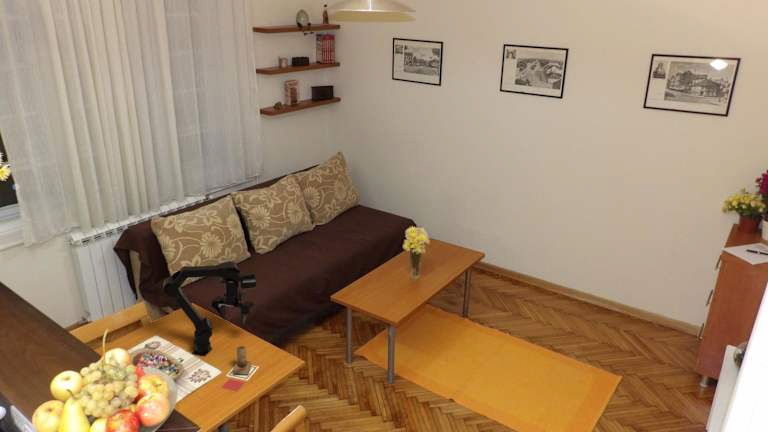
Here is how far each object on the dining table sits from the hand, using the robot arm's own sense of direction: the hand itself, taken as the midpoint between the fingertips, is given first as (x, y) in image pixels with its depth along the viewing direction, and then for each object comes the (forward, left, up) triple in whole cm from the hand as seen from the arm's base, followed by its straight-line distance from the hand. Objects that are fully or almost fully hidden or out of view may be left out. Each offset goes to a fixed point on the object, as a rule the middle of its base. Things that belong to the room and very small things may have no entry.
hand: (234, 321), depth 251 cm
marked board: (+13, -17, -13) cm, 25 cm away
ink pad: (+14, -27, -13) cm, 33 cm away
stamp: (+13, -17, -12) cm, 24 cm away
